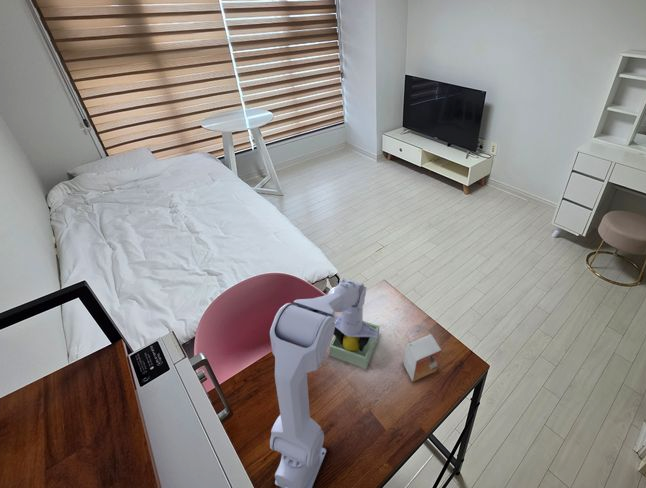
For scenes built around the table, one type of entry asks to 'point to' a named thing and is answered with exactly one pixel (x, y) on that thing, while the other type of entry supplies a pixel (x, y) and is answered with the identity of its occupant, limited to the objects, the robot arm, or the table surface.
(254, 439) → the table surface
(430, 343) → the white toy house
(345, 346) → the lemon
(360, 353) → the green square open tray
